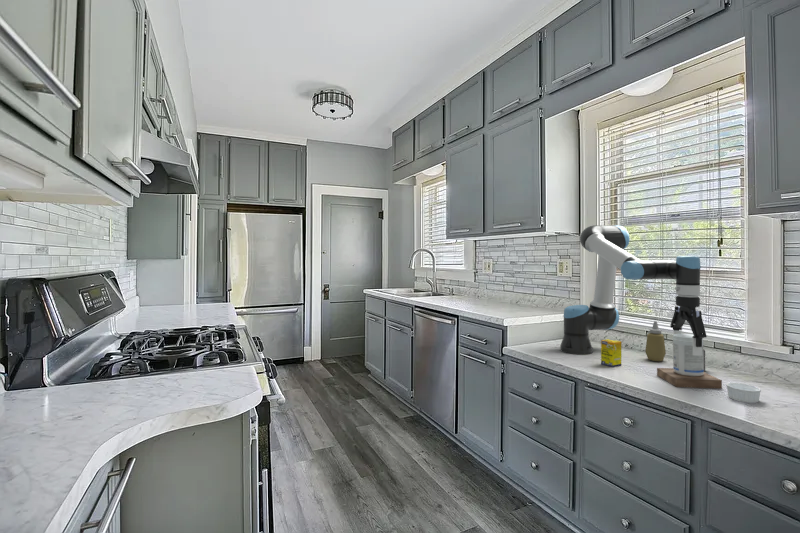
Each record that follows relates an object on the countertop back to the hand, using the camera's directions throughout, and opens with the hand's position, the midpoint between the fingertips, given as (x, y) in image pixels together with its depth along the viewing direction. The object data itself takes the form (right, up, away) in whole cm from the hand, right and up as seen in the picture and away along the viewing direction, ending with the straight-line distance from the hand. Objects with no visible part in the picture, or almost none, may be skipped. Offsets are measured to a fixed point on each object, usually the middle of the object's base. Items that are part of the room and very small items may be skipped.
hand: (686, 350), depth 153 cm
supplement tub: (0, -9, 0) cm, 9 cm away
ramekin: (+5, -12, -19) cm, 23 cm away
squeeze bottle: (+8, -11, +32) cm, 35 cm away
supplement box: (-16, -12, +25) cm, 32 cm away
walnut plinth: (0, -12, 0) cm, 12 cm away
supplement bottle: (+15, -12, +16) cm, 25 cm away
